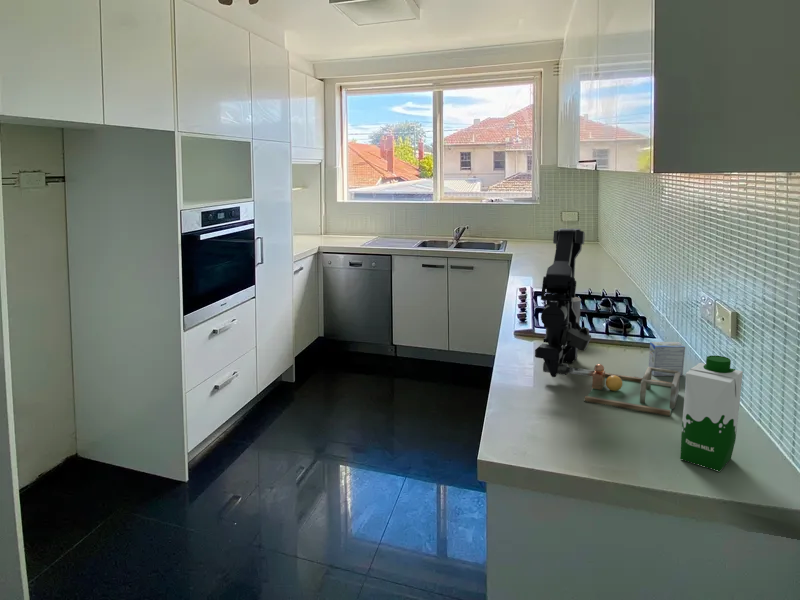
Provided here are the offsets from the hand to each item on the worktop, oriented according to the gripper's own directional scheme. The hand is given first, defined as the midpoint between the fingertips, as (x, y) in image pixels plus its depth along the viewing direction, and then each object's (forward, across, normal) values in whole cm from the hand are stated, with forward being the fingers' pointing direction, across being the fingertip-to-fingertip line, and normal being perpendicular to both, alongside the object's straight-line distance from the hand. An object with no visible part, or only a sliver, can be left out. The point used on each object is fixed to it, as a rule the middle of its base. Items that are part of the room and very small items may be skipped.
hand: (555, 375), depth 149 cm
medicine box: (+2, +20, -25) cm, 32 cm away
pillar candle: (+2, +44, +9) cm, 45 cm away
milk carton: (+2, -28, -37) cm, 46 cm away
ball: (0, 0, -15) cm, 15 cm away
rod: (+2, 0, -5) cm, 5 cm away
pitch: (+2, 0, -20) cm, 20 cm away
